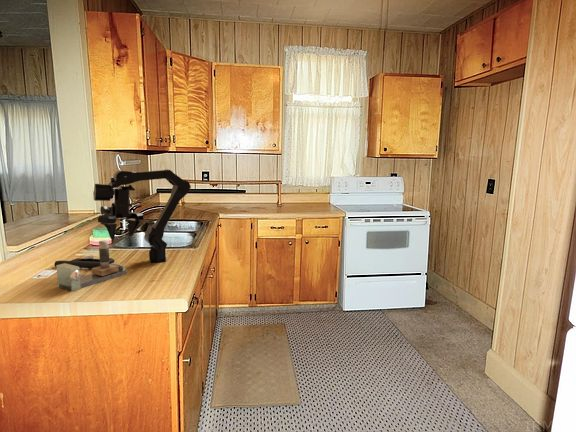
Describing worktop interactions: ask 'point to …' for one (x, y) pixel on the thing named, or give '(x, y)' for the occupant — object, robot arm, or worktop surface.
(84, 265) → the door handle
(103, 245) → the carriage
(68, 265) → the rail
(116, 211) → the robot arm
